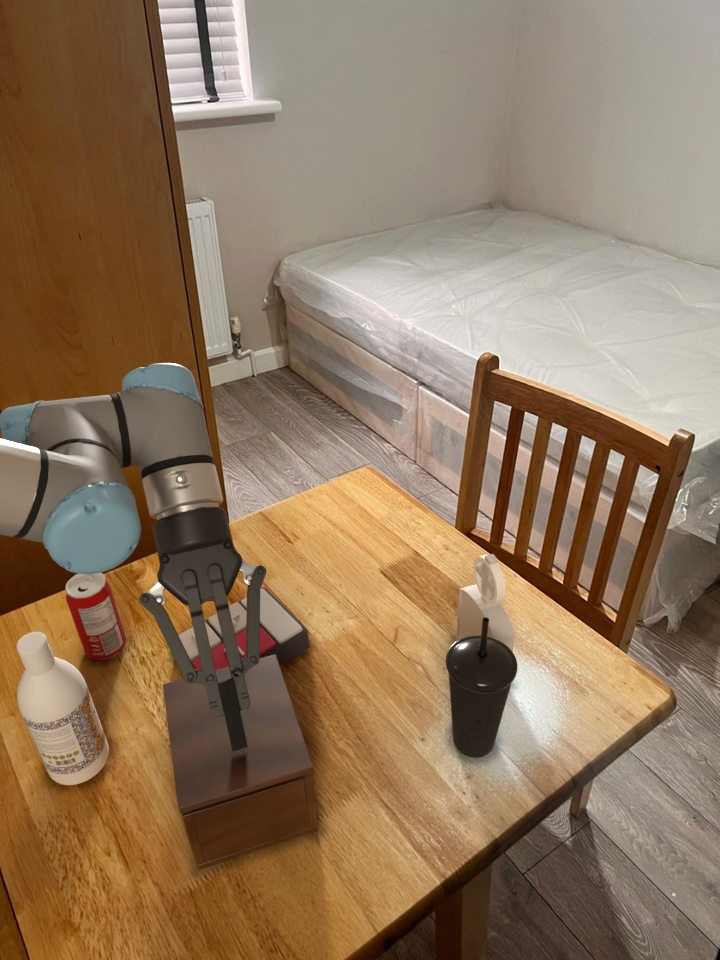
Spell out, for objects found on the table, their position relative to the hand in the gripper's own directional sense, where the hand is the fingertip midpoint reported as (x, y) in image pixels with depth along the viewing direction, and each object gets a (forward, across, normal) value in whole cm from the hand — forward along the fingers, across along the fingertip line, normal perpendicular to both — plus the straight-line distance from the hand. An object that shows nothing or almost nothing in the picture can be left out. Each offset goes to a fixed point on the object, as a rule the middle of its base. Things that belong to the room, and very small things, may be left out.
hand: (239, 746), depth 71 cm
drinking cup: (+9, +26, +10) cm, 30 cm away
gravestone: (+1, +33, +18) cm, 37 cm away
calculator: (-8, +3, +26) cm, 28 cm away
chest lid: (-1, 0, +5) cm, 5 cm away
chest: (+6, 0, +12) cm, 14 cm away
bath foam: (-1, -18, +19) cm, 26 cm away
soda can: (-13, -14, +32) cm, 37 cm away
